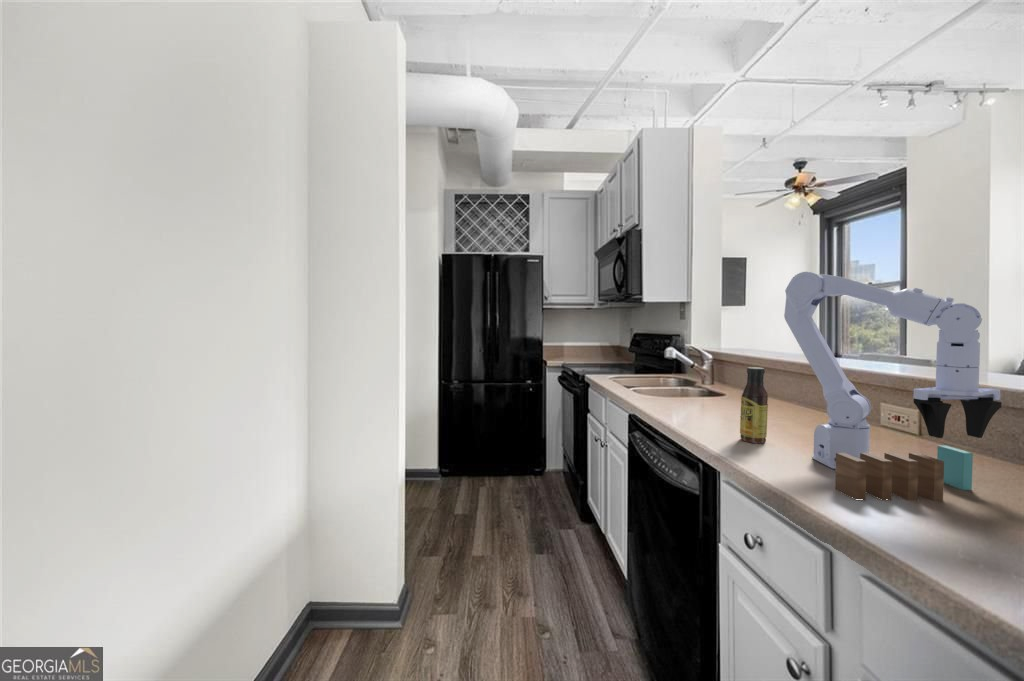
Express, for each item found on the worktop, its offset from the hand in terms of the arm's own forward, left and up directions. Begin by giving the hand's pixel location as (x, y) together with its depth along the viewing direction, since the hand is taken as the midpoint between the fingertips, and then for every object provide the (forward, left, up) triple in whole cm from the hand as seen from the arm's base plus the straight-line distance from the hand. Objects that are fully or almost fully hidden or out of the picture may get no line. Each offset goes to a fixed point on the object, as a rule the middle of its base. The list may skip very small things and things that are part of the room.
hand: (955, 436), depth 81 cm
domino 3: (-14, -6, -9) cm, 18 cm away
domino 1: (-23, -7, -9) cm, 26 cm away
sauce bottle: (-24, +29, -10) cm, 39 cm away
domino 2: (-18, -6, -9) cm, 22 cm away
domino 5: (0, 0, -9) cm, 9 cm away
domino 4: (-9, -6, -9) cm, 15 cm away
